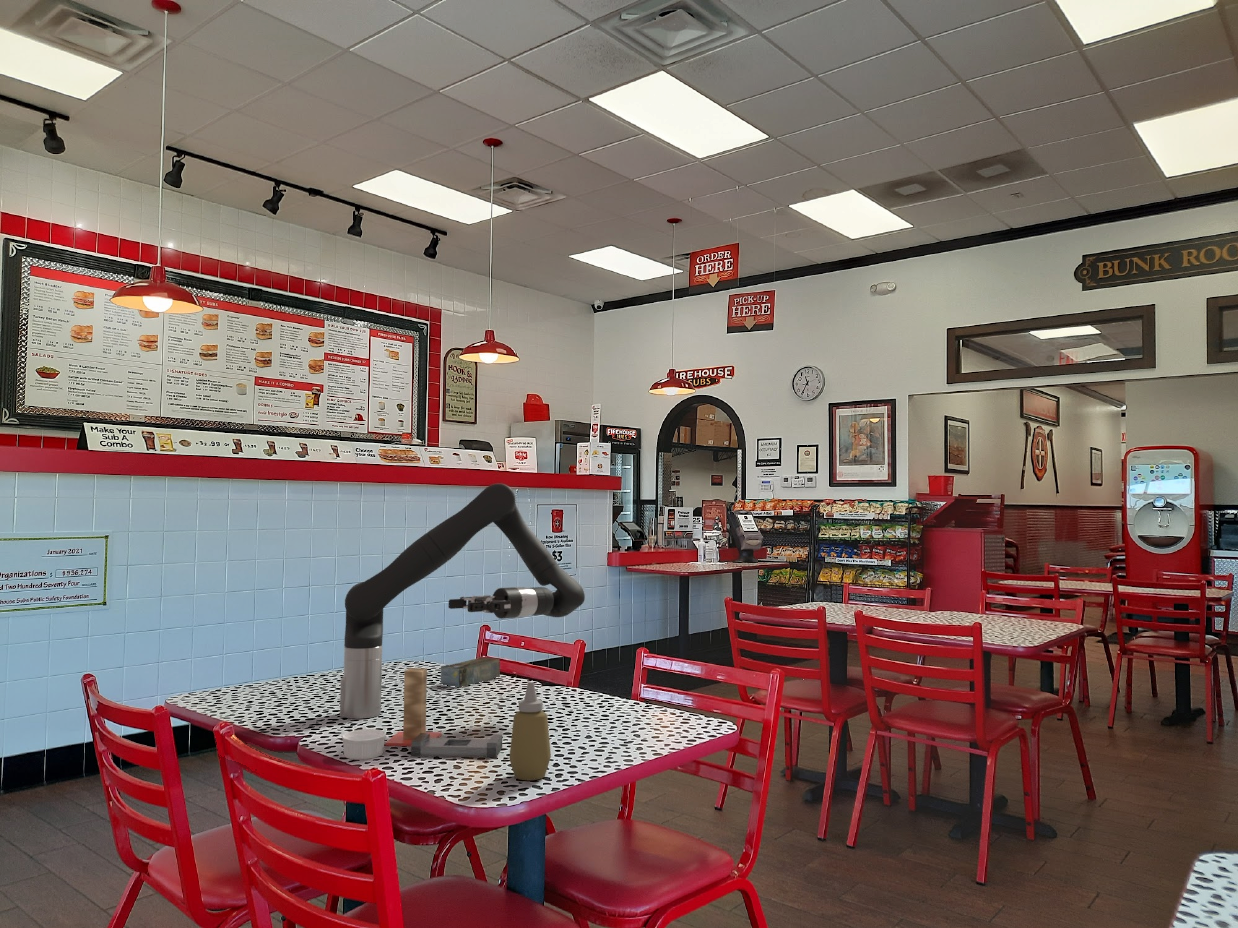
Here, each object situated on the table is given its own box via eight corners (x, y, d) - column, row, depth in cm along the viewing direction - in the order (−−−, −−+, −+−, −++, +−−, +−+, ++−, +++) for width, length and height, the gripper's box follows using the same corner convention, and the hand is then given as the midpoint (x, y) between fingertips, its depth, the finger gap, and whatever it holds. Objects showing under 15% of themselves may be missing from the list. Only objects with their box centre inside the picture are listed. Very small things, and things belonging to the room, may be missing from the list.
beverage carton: (438, 686, 252) (439, 663, 252) (481, 676, 268) (482, 655, 269) (458, 689, 248) (459, 666, 248) (501, 678, 264) (501, 657, 264)
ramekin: (391, 756, 178) (391, 735, 178) (348, 763, 173) (348, 741, 173) (378, 747, 185) (378, 726, 185) (336, 753, 180) (337, 732, 181)
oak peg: (403, 739, 189) (404, 671, 190) (408, 734, 193) (409, 668, 194) (420, 739, 189) (422, 671, 189) (425, 735, 193) (426, 668, 193)
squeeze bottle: (544, 784, 160) (544, 687, 161) (503, 781, 161) (504, 685, 162) (555, 771, 167) (556, 679, 169) (516, 769, 169) (517, 677, 170)
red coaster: (384, 745, 186) (385, 742, 186) (398, 733, 196) (398, 731, 196) (430, 746, 185) (430, 743, 185) (441, 734, 195) (441, 732, 195)
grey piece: (411, 755, 178) (411, 741, 178) (420, 746, 185) (420, 732, 185) (496, 757, 177) (496, 742, 177) (502, 748, 184) (502, 734, 184)
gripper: (499, 585, 217) (443, 587, 206) (532, 589, 206) (475, 592, 196) (498, 614, 216) (442, 618, 206) (531, 620, 206) (474, 624, 195)
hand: (458, 605), depth 201 cm, fingers open, 8 cm apart
